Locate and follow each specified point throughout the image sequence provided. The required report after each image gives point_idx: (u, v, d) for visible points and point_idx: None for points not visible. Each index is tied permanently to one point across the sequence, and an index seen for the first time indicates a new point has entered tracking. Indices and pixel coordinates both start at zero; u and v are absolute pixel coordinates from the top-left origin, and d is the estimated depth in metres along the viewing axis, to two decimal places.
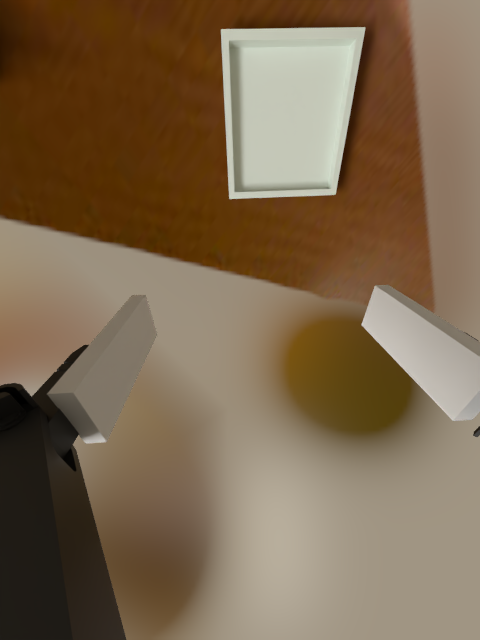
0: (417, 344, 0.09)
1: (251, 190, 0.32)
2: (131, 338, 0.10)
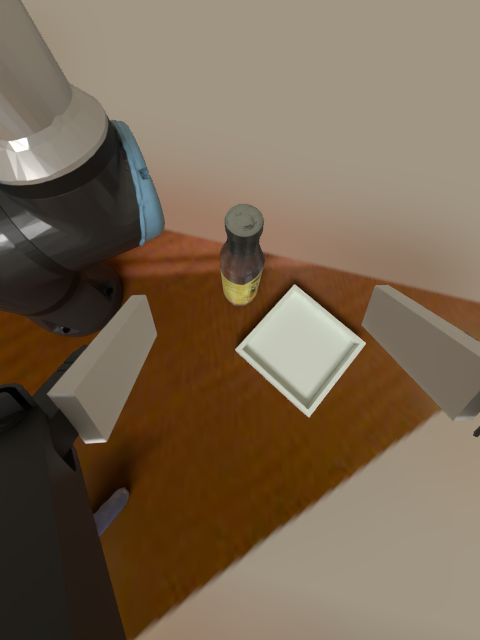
0: (417, 344, 0.09)
1: (314, 395, 0.36)
2: (131, 338, 0.10)
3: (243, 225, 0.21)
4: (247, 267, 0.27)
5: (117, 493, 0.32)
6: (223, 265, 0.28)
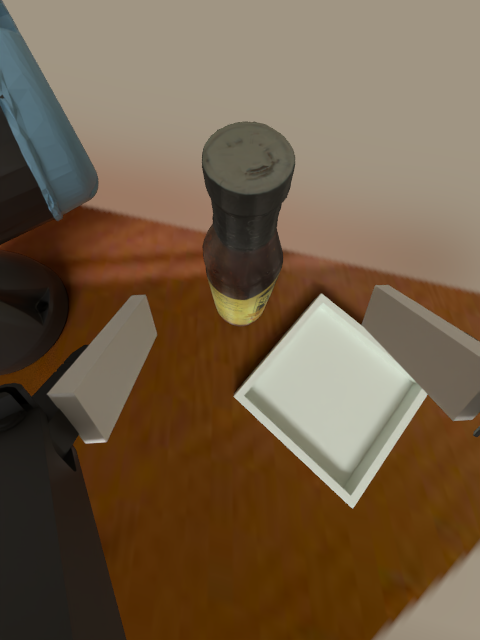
0: (417, 344, 0.09)
1: (356, 465, 0.23)
2: (131, 338, 0.10)
3: (247, 167, 0.09)
4: (254, 269, 0.14)
5: None
6: (209, 266, 0.15)
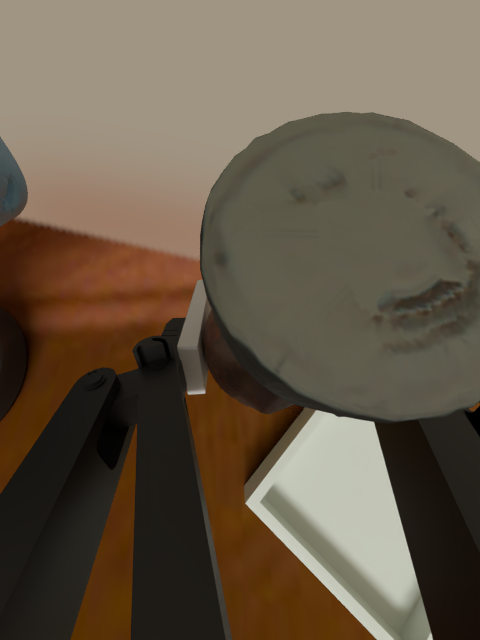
0: None
1: (416, 600, 0.17)
2: (207, 314, 0.11)
3: (380, 291, 0.02)
4: None
5: None
6: (213, 375, 0.08)
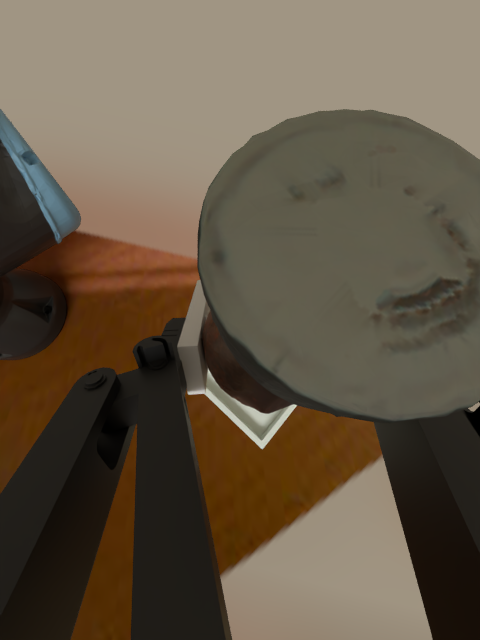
0: None
1: (270, 423, 0.33)
2: (207, 314, 0.11)
3: (378, 290, 0.02)
4: None
5: None
6: (213, 374, 0.08)
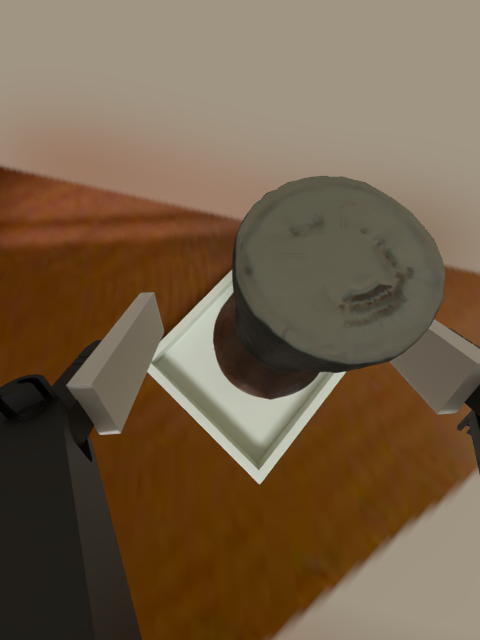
0: None
1: (273, 440, 0.21)
2: (141, 334, 0.10)
3: (343, 291, 0.04)
4: (295, 380, 0.09)
5: None
6: (222, 366, 0.10)
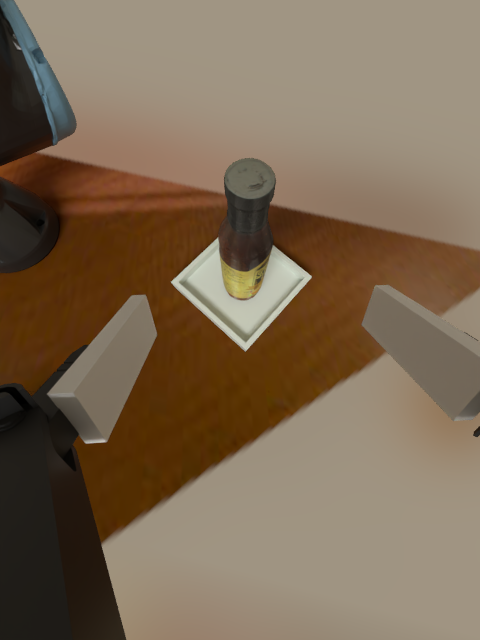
0: (417, 344, 0.09)
1: (255, 331, 0.34)
2: (131, 338, 0.10)
3: (249, 184, 0.16)
4: (253, 247, 0.21)
5: None
6: (222, 246, 0.22)
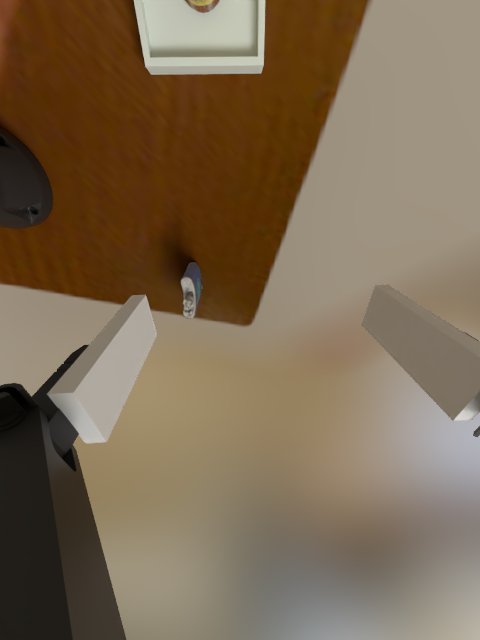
0: (417, 344, 0.09)
1: (256, 32, 0.28)
2: (131, 338, 0.10)
3: None
4: None
5: (188, 265, 0.44)
6: None
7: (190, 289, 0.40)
